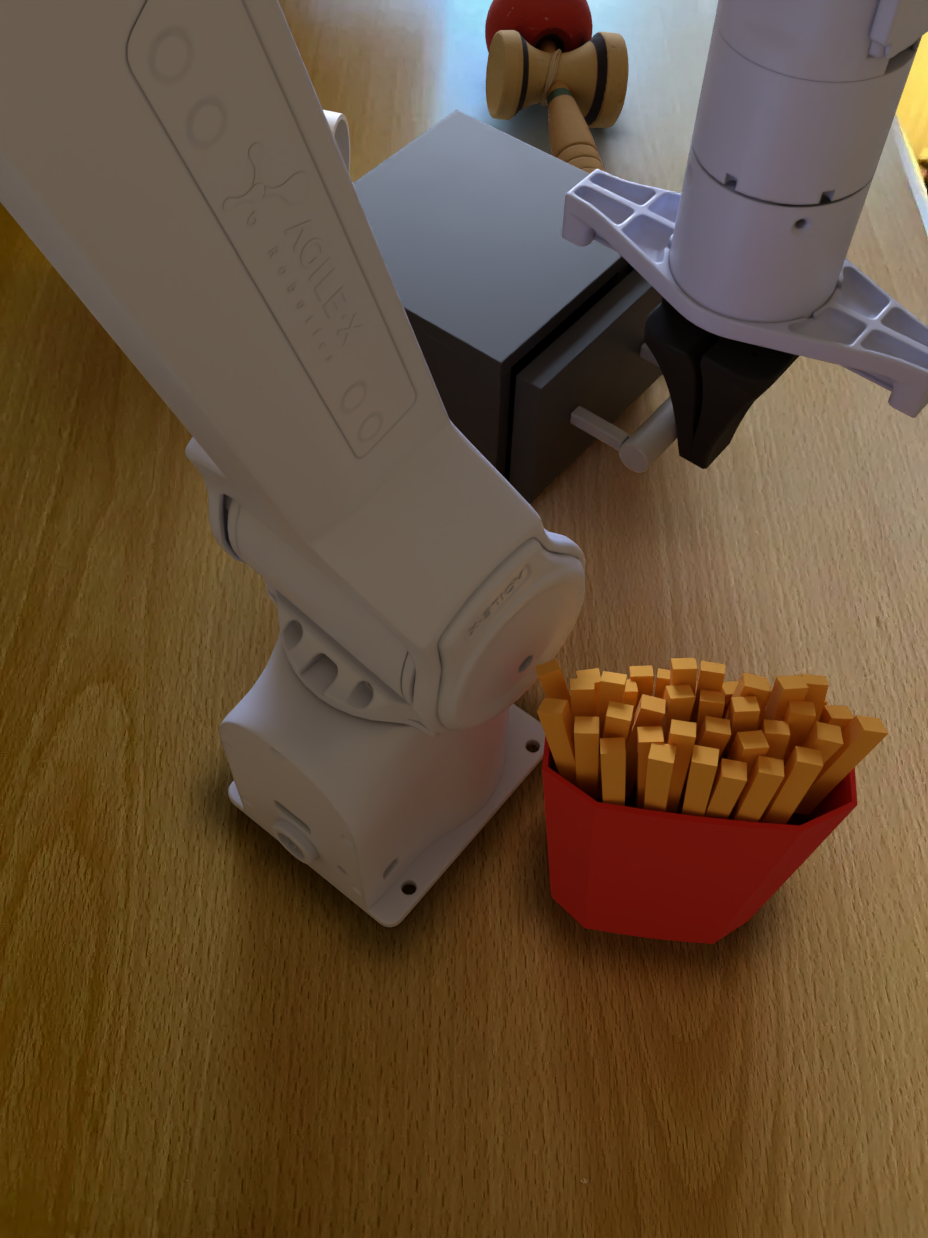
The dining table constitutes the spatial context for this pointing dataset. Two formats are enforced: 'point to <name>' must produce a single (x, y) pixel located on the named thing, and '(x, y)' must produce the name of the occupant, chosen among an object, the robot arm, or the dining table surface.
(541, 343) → the drawer
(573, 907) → the french fries
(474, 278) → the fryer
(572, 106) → the kendama
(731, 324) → the robot arm
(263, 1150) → the dining table surface
